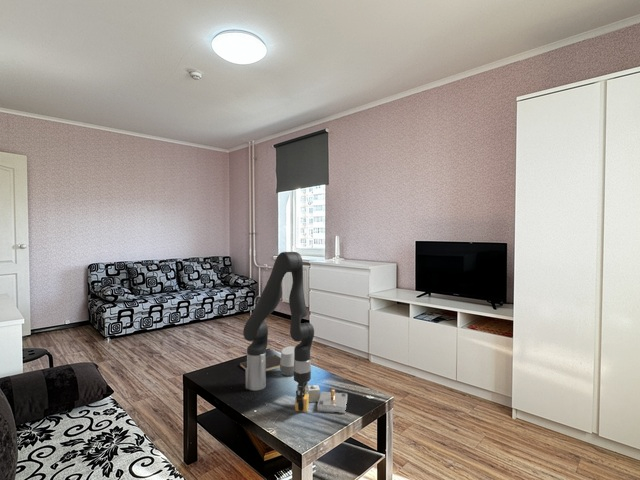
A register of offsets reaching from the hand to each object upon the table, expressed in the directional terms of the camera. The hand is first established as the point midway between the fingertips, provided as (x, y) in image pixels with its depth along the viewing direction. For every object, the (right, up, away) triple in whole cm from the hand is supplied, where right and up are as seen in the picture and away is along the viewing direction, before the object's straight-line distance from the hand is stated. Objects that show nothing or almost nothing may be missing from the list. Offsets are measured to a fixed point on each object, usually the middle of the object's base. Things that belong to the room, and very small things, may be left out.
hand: (302, 406), depth 152 cm
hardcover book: (-25, 0, +48) cm, 54 cm away
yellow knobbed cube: (0, -1, 0) cm, 1 cm away
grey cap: (+5, -1, +9) cm, 10 cm away
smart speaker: (-9, 0, +37) cm, 38 cm away
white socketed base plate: (+14, -1, +3) cm, 14 cm away
